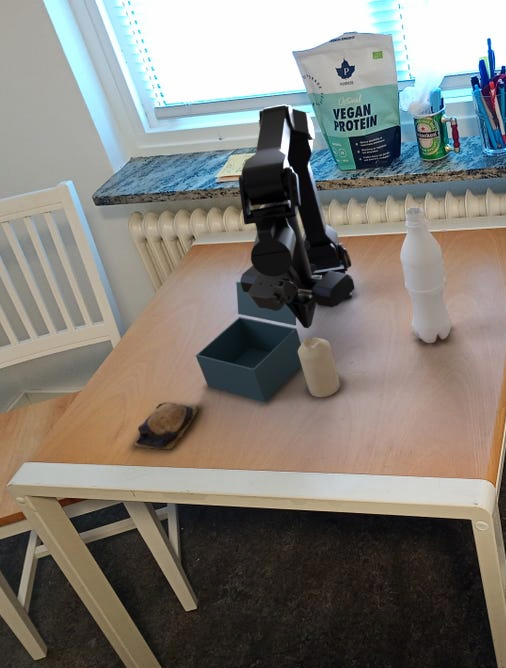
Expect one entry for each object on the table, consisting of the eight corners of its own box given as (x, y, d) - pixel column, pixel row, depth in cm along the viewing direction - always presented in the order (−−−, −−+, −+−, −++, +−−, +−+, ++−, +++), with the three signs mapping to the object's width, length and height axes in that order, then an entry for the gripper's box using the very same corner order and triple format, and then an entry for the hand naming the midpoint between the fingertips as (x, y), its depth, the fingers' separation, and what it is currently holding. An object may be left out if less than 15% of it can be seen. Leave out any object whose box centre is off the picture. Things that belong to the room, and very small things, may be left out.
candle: (346, 381, 127) (334, 334, 122) (328, 400, 124) (315, 353, 118) (320, 375, 130) (308, 329, 124) (303, 393, 127) (289, 347, 121)
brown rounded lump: (162, 406, 132) (155, 390, 129) (202, 409, 129) (195, 393, 126) (131, 447, 124) (122, 431, 122) (172, 451, 121) (165, 435, 119)
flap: (238, 314, 137) (239, 313, 137) (294, 325, 130) (296, 324, 130) (236, 282, 135) (237, 281, 135) (293, 291, 128) (295, 291, 128)
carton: (250, 347, 142) (239, 316, 137) (305, 360, 135) (296, 328, 130) (208, 387, 134) (195, 355, 129) (265, 402, 127) (253, 370, 122)
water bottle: (456, 324, 135) (440, 200, 120) (447, 347, 130) (430, 220, 115) (419, 323, 138) (399, 201, 123) (409, 345, 132) (387, 221, 118)
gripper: (205, 262, 110) (234, 345, 119) (303, 277, 101) (327, 366, 110) (250, 227, 117) (274, 308, 126) (346, 239, 108) (365, 325, 117)
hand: (307, 326), depth 119 cm, fingers closed
